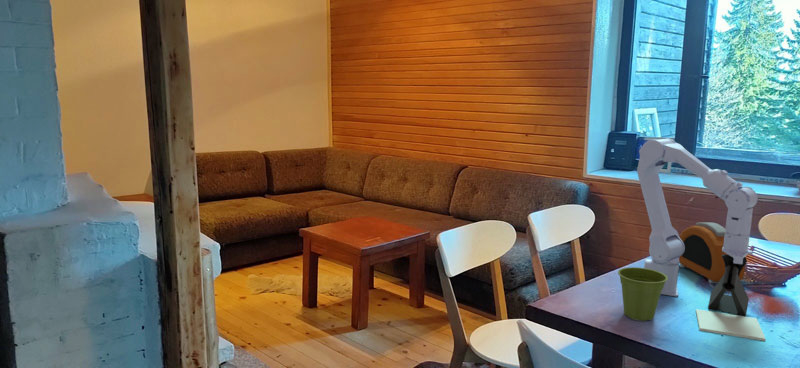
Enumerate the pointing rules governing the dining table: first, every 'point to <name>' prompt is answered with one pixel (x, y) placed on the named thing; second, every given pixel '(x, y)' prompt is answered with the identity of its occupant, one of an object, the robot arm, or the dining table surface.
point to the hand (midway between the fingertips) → (731, 282)
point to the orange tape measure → (705, 250)
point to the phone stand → (726, 302)
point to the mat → (729, 324)
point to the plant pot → (641, 291)
